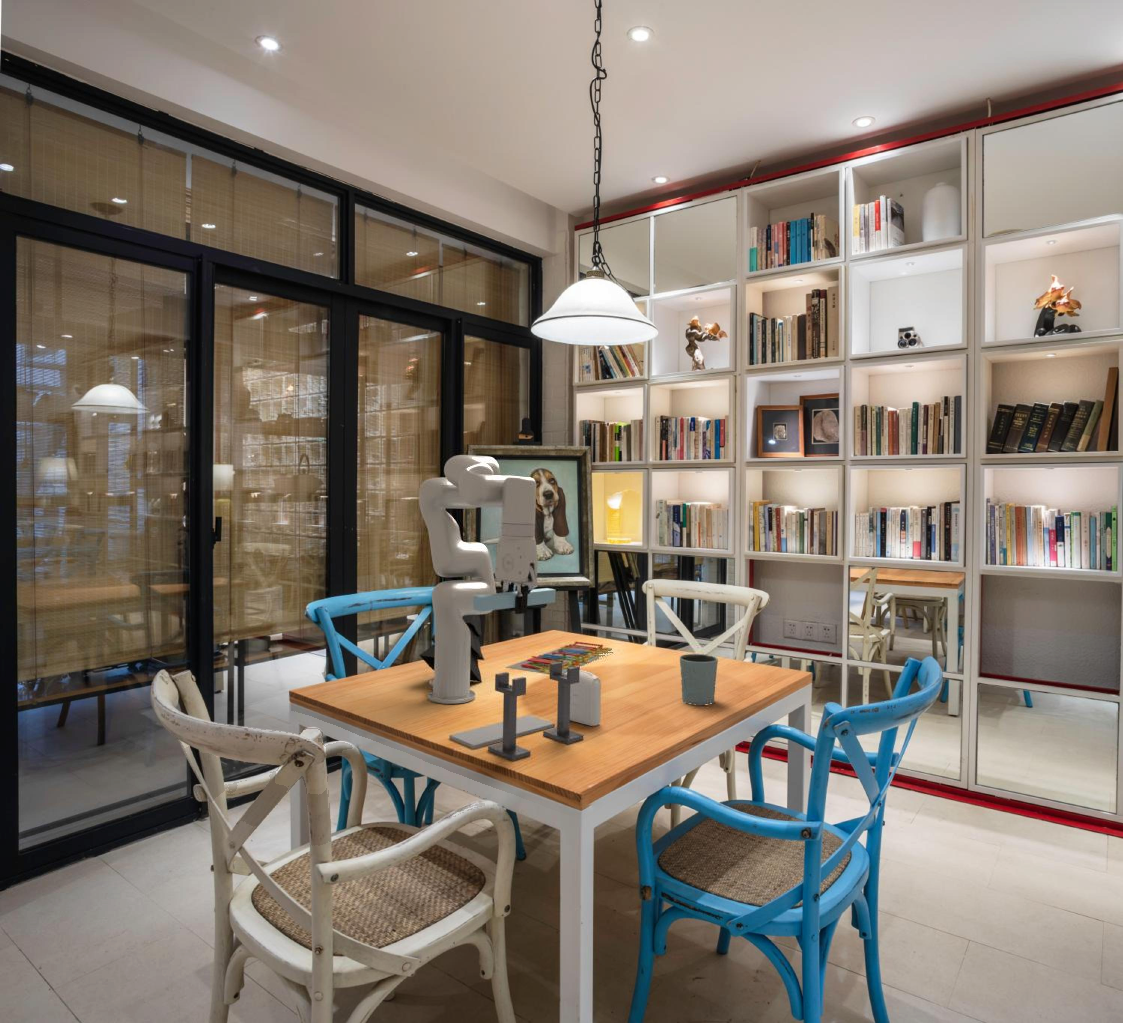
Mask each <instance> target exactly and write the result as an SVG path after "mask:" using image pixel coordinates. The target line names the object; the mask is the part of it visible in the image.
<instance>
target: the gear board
mask: <svg viewBox="0 0 1123 1023" xmlns="http://www.w3.org/2000/svg"><path fill="white" fill-rule="evenodd" d="M596 647H597V648H596ZM612 649H613V648H612V647H604V645H603V644H597V643H590V642H581V641H578V640H577V641H574V643H569V644H566V645H564V646H560V648H556V649H553V650H552V651H549V652H545V653H542V654H539V655H537V656H535V655H531V657H530V658H528V659H525V660H522V661H520V662H517V663H514V664H511V665H508V666H506V667H505V669H512V670H517V671H518V670H519V671H524V672H525V671H526V672H530V673H531V672H532V673H533V672H534V673H537V674H538V673H540V674H546V675H550V664H551V663H556V662H562V674H566V672H567V668H570V667H575V666H578V667H580V666H581V667H583V666H585V664H586V665H588V664H591V663H592V661H593V662H595V661H598V660H600V659H599V657H601V656H602V657H603V656H605V655H599V654H603V653H604V654H606V653H607V654H608V653H612V654H614V653H613V652H608V651H611V650H612ZM605 657H606V656H605ZM603 658H604V657H603ZM597 659H598V660H597ZM594 660H595V661H594ZM587 663H588V664H587Z"/></svg>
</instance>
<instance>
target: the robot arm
mask: <svg viewBox="0 0 1123 1023" xmlns="http://www.w3.org/2000/svg"><path fill="white" fill-rule="evenodd" d="M443 472H444V476H445V477H443V476H442V477H432V478H428V479H426V480H424V481H423V482H422V483H421V485H420V487H419V490H418V491H419V492H418V503H419V504H418V505H419V510H420V512H421V516H422V518H423V520H424V522H425V525H426V529H427V532H428V537H429V538H428V539H429V545H430V546H429V547H430V553H431V560H432V566H433V570H434V572H435V575H437V576H440V577H442V578H459V577H460V578H466V577H468V578H469V577H470V578H471V579H456V580H454V579H453V580H445V581H442V582H439V583H438V584H437V585H435V587H434V588H433V590H432V593H431V603H432V609H433V616H434V635H435V665H434V670H433V672H434V673H433V679H430V680H429V681H428V684H429V685H430V686H432V690H431V691H429V693H428V694H427V699H428V700H429V701H430V702H433V703H437V704H442V705H443V704H445V705H448V704H449V705H457V704H465V703H467V702H471V701H473V700H475V699H476V692H475V691H474V690H472V689H471V688H470V687H471V685H470V684H471V680H470V647H471V634H470V630H469V627H468V626H467V625H466V623H465V622H464V620H463V619H462V616H467V615H478V614H479V615H486V614H490V613H492V612H493V611H494V610H490V611H477V610H473V598H474V596H476V595H486V594H496V593H497V590H496V584H495V583H496V582H495V579H496V581H497V582H498V583H499V584H500V585H501V588H502V593H505V592H515V591H517V595H518V596H516V597H515V607H514V608H506V609H503V611H504V612H506V613H508V612H514V614H516V615H522V614H526V613H527V612H528V606H527V601H528V596H529V595H530V592H531V590H534V589H537V587H538V586H539V583H538V579H537V578H538V565H539V564H538V550H537V549H538V548H537V541H536V538H535V535H536V532H535V531H536V508H537V507H536V504H537V481H536V480H535V479H534V478H532V477H528V476H527V477H525V476H517V475H501V469H500V466H499V463H498V462H497V460H496V459H495V458H494V457H492V456H488V455H470V454H459V455H454V456H452V457H450V458H449V459H448V460H447V461H446V463H445V465H444V468H443ZM477 508H502V509H501V510H502V511H501V513H502V514H501V527H500V528H501V533H500V534H501V536H499V537H498V538H499V539H498V542H497V546H496V553H495V554H496V555H495V563H494V565H495V566H494V570H493V564H492V558H491V554H490V552H489V551H490V550H489V549H488V548H487V546H486V545H485V544H483V543H481V542H477V541H463V540H462V536H461V531H460V526H459V524H458V523H457V521H456V519H454V517H453V516H452V514H450V513H449V512H448V511H447V510H446V509H462V510H463V509H468V510H469V509H472V510H473V509H477Z"/></svg>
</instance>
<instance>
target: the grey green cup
mask: <svg viewBox="0 0 1123 1023" xmlns="http://www.w3.org/2000/svg"><path fill="white" fill-rule="evenodd" d="M718 662H719V659H718V658H717V657H716V656H714V655H709V654H704V653H690V654H689V653H687V654H683V655H680V656H679V667H680V678H681V680H680V681H681V699H682V702H683V701H684V702H686V703H685V704H687V703H691V704H696V705H705V704H710V703H713V702H714V703H715V695H716V694H715V693H716V682H717V670H718ZM684 702H683V703H684ZM714 703H713V704H714ZM696 705H695V706H696Z"/></svg>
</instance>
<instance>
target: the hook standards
mask: <svg viewBox="0 0 1123 1023" xmlns="http://www.w3.org/2000/svg"><path fill="white" fill-rule="evenodd" d="M580 670H581V669H580V667H578V666H575V667H570V668H567V675H566V673H564V674H562V662H556V663H551V664H550V674H549V680H552V681H556V682H557V711H556V712H557V715H556V716H557V719H556V722H557V723H556V727H552V728H548V729H545V730H542V731H543V732H542V736H543V737H546V738H549V739H552V740H554V741H557V742H560V743H561V744H562V743H563V744H566V745H570V744H574V743H576V742H577V743H578V742H580V741H584V734H582V733H578V732H576V731H573V730H570V728H571V727H570V726H571V724H570V721H571V720H570V684H574V683H579V675H580ZM494 675H495V676H494V677H495V678H494V680H495V681H494V691H495V692H499V693H501V694H503V709H502V710H503V711H502V712H503V713H502V714H503V716H502V722H503V741H501V742H498V743H494V744H491V745H487V746H488V747H487V751H488V752H489V753H491V754H494V755H497V756H499V757H502V758H504V759H506V760H509V761H511V762H514V761H517V760H521V759H524V758H527V757H530V756H531V750H529V749H527V748H524V747H522V746H519V745H517V737H516V718H518V716H517V712H518V711H517V708H518V704H517V703H518V697H521V696H525V695H527V677H525V676H522V677H515V678H512V680H511V682H512V683H511V684H510V672H507V671H505V672H499V673H495V674H494Z"/></svg>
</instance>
